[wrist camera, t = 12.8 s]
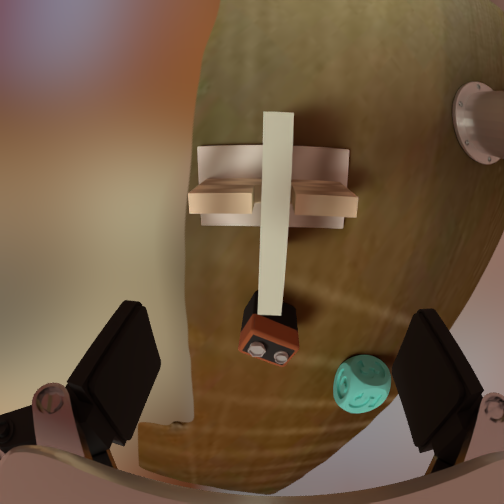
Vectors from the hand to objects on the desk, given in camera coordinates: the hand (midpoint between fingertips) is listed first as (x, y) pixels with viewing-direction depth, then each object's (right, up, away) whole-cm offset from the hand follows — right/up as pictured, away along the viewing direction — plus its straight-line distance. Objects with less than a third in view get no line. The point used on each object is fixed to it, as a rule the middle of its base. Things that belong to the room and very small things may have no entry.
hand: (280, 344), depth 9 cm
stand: (+2, +11, +25) cm, 27 cm away
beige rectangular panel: (+2, +11, +24) cm, 26 cm away
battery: (+2, -5, +33) cm, 33 cm away
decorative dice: (+19, -19, +38) cm, 46 cm away
